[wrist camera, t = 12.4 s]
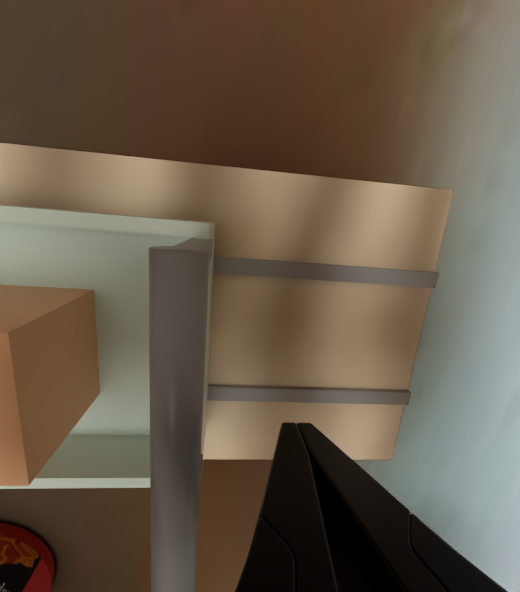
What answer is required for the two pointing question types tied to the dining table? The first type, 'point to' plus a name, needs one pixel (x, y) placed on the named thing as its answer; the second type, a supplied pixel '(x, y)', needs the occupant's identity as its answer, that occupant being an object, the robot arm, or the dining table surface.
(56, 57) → the dining table surface
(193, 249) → the tray with handle
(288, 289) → the track
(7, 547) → the canned food
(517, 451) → the dining table surface
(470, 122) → the dining table surface
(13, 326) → the block
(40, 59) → the dining table surface
